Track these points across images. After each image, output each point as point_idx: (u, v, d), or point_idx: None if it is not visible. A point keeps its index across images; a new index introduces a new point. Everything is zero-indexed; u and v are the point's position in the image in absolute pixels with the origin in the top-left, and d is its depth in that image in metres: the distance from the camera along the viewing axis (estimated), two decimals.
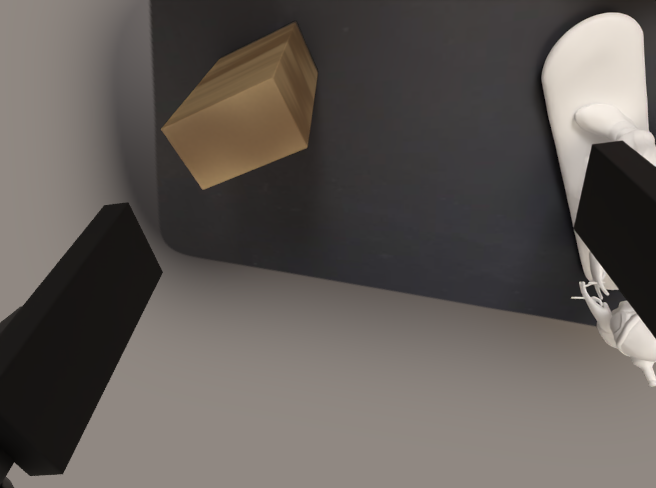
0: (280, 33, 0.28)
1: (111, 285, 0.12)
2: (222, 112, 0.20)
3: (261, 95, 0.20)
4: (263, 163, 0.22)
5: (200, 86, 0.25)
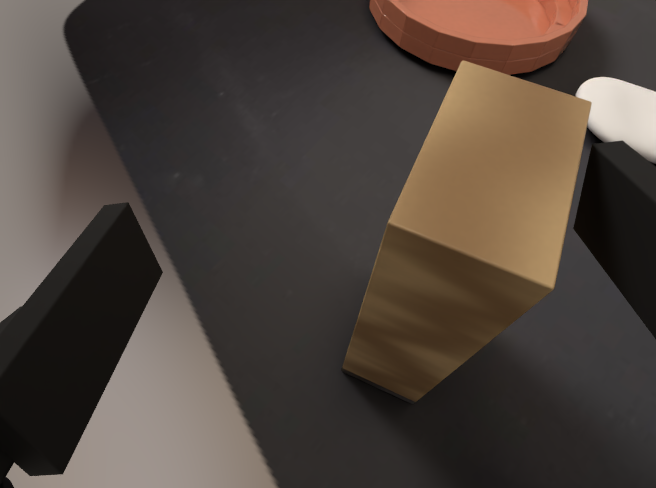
0: None
1: (111, 285, 0.12)
2: (449, 133, 0.11)
3: (472, 83, 0.12)
4: (575, 161, 0.10)
5: None
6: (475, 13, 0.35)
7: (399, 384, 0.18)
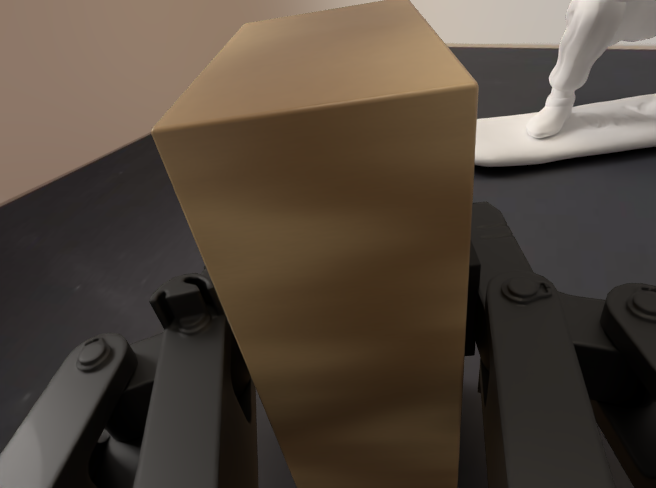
0: None
1: None
2: (240, 52, 0.07)
3: (259, 27, 0.09)
4: (417, 18, 0.07)
5: None
6: None
7: None
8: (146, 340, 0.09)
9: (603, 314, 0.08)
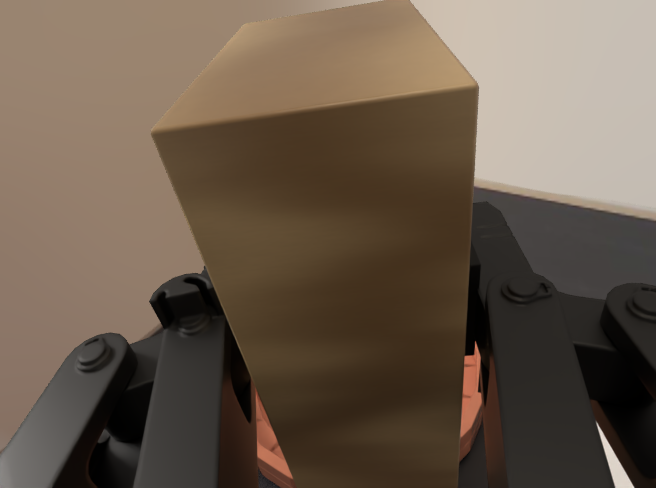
0: None
1: None
2: (240, 52, 0.07)
3: (259, 27, 0.09)
4: (417, 17, 0.07)
5: None
6: None
7: None
8: (146, 340, 0.09)
9: (603, 314, 0.08)
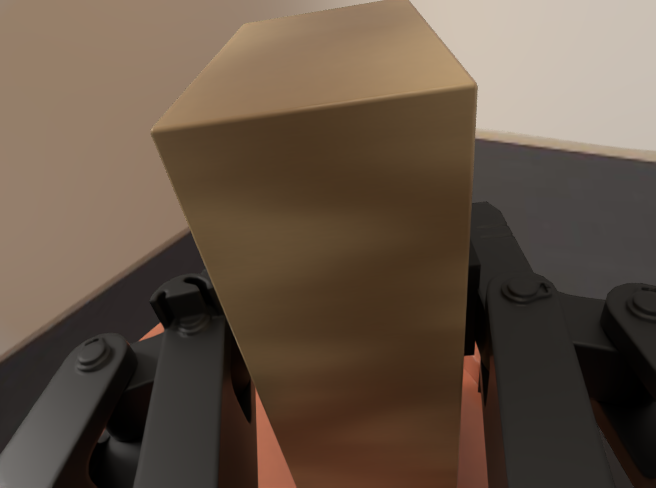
0: None
1: None
2: (239, 52, 0.07)
3: (259, 27, 0.09)
4: (417, 17, 0.07)
5: None
6: None
7: None
8: (146, 340, 0.09)
9: (603, 314, 0.08)
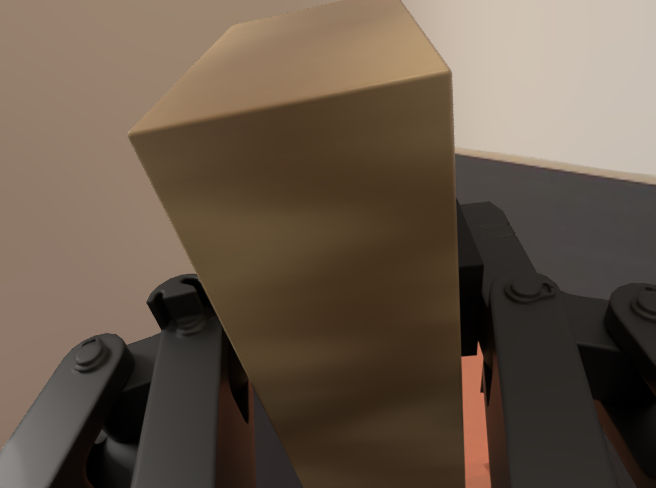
0: None
1: None
2: (223, 53, 0.07)
3: (246, 28, 0.09)
4: (400, 9, 0.07)
5: None
6: None
7: None
8: (143, 341, 0.09)
9: (607, 314, 0.08)
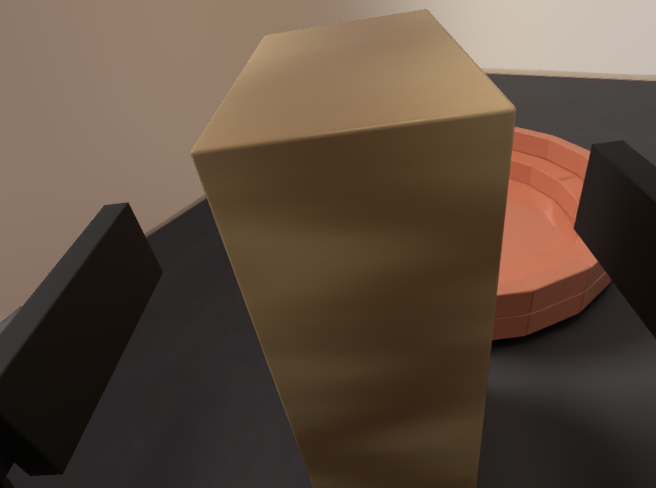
0: None
1: (111, 285, 0.12)
2: (266, 67, 0.07)
3: (281, 40, 0.09)
4: (442, 32, 0.07)
5: None
6: None
7: None
8: None
9: None
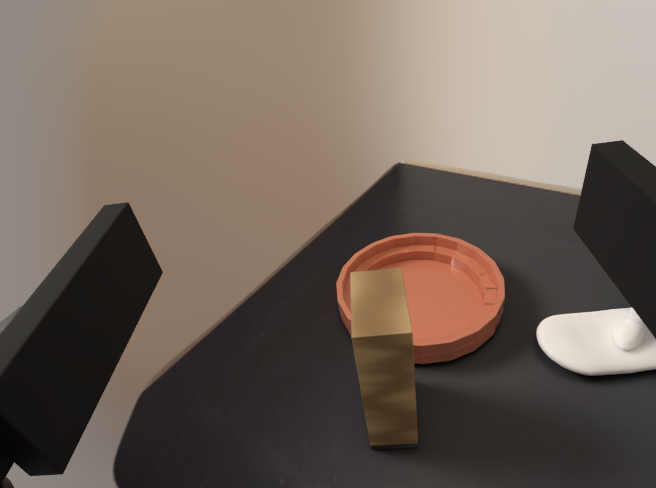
0: None
1: (111, 285, 0.12)
2: (358, 299, 0.29)
3: (357, 279, 0.30)
4: (403, 290, 0.29)
5: None
6: (424, 300, 0.45)
7: (402, 433, 0.32)
8: None
9: None
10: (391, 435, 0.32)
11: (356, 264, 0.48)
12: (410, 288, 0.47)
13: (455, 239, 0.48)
